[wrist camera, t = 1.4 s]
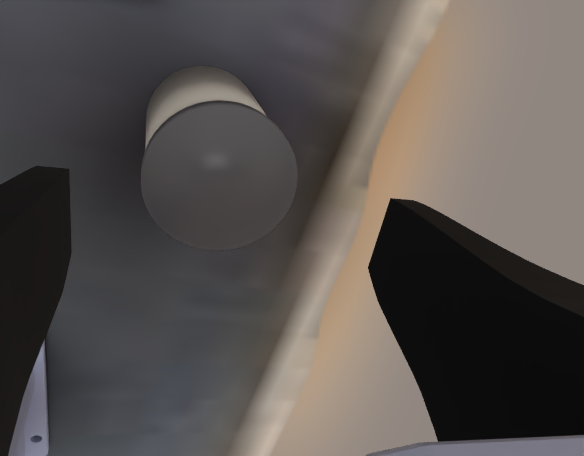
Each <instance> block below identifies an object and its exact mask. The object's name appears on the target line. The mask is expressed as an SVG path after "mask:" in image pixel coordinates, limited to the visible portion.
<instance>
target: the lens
mask: <svg viewBox="0 0 584 456" xmlns="http://www.w3.org/2000/svg"><path fill="white" fill-rule="evenodd" d="M297 183H298V169H297V162H296V158H295V155H294V152H293V150H292V148H291V145H290V144H289V142H288V140H287V139H286V137H285V136H284V134H283V133H282V131H281V130H280V129H279V128H278V126H277V125H276V124H275V123H274V122H273V121H272V120H271V119H270V118H268V117H267V116H266V114H265V113H264V111H263V110H262V108H261V107H260V105H259V104H258V102H257V101H256V99H255V98H254V97H253V95H252V94H251V92H250V91H249V89H248V88H247V87H246V86H245V84H244V83H243V82H242V81H240V80H239V79H238V78H237V77H235V76H234V75H232V74H231V73H229V72H227V71H225V70H222V69H219V68H216V67H211V66H193V67H188V68H185V69H182V70H179V71H177V72H175V73H173V74H171V75H170V76H169V77H167V78H166V79H165V80H164V81H163V82H161V83H160V85H159V86H158V87H157V88H156V90H155V91H154V93H153V95H152V97H151V99H150V101H149V104H148V108H147V114H146V140H145V152H144V156H143V159H142V166H141V191H142V197H143V200H144V203H145V206H146V208H147V210H148V212H149V214H150V216H151V217H152V219H153V220H154V222H155V223H156V224H157V225H158V226H159V227H160V228H161V229H162V230H163V231H164V232H165V233H166V234H167V235H169V236H170V237H172V238H173V239H175V240H176V241H178V242H180V243H182V244H185V245H187V246H190V247H193V248H197V249H202V250H210V251H224V250H232V249H236V248H240V247H243V246H246V245H249V244H251V243H253V242H255V241H257V240H259V239H261V238H262V237H264V236H265V235H267V234H268V233H269V232H271V231H272V230H273V229H274V228H275V227H276V226H277V225H278V224H279V223H280V222H281V221H282V219H283V218H284V217H285V215H286V214H287V212H288V210H289V209H290V207H291V205H292V202H293V200H294V197H295V193H296V190H297Z"/></svg>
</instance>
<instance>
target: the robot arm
mask: <svg viewBox="0 0 584 456" xmlns="http://www.w3.org/2000/svg"><path fill="white" fill-rule="evenodd" d="M70 257H71V220H70V184H69V169H64V168H53V167H42V166H36V167H33V168H31V169H29V170H27V171H25V172H23V173H21V174H19V175H17V176H16V177H14V178H12V179H10V180H8V181H7V182H5V183H3V184H1V185H0V456H46V455H47V454H48V450H49V429H48V405H47V382H46V358H45V337H46V334H47V332H48V329H49V326H50V324H51V321H52V319H53V316H54V313H55V311H56V308H57V305H58V303H59V300H60V297H61V295H62V292H63V288H64V284H65V280H66V275H67V271H68V266H69V261H70ZM368 269H369V273H370V277H371V280H372V283H373V287H374V290H375V293H376V296H377V299H378V302H379V304H380V307H381V309H382V311H383V313H384V315H385V317H386V319H387V322H388V324H389V326H390V328H391V330H392V332H393V334H394V336H395V338H396V340H397V342H398V344H399V346H400V348H401V350H402V352H403V354H404V356H405V358H406V360H407V362H408V365H409V366H410V368H411V371H412V373H413V375H414V377H415V379H416V382H417V384H418V386H419V389H420V391H421V393H422V396H423V399H424V402H425V405H426V407H427V410H428V413H429V416H430V419H431V422H432V424H433V427H434V430H435V433H436V436H437V440H438V442H424V443H416V444H412V445H407V446H402V447H397V448H393V449H388V450H383V451H379V452H375V453H370V454H367V455H366V456H584V285H582V284H579V283H577V282H574V281H572V280H569V279H567V278H565V277H562V276H560V275H558V274H556V273H553V272H551V271H549V270H546V269H544V268H542V267H540V266H538V265H535V264H534V263H531V262H529V261H527V260H525V259H523V258H521V257H520V256H518V255H516V254H514V253H511V252H510V251H508V250H506V249H504V248H502V247H500V246H498V245H497V244H495V243H493V242H491V241H489V240H488V239H486V238H484V237H482V236H480V235H479V234H477V233H475V232H473V231H471V230H470V229H468V228H466V227H465V226H463V225H461V224H459V223H458V222H456V221H454V220H452V219H451V218H449V217H447V216H445V215H444V214H442V213H440V212H438V211H436V210H434V209H432V208H430V207H428V206H426V205H424V204H422V203H419V202H416V201H414V200H402V199H392V198H391V199H390V202H389V205H388V208H387V211H386V214H385V217H384V220H383V223H382V226H381V229H380V232H379V235H378V238H377V242H376V245H375V248H374V251H373V254H372V257H371V260H370V263H369V266H368ZM35 435H39V436H35Z"/></svg>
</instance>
